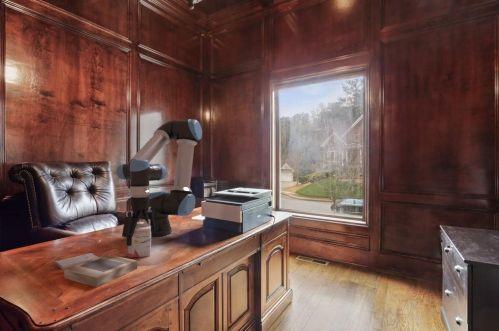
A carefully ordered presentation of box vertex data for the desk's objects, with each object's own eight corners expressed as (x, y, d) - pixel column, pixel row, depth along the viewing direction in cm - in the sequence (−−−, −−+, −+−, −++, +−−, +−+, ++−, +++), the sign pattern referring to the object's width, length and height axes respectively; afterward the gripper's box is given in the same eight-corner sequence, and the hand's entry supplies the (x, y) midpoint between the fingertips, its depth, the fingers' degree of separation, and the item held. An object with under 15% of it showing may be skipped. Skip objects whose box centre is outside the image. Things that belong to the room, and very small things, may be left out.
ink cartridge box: (127, 258, 108) (127, 222, 108) (129, 254, 113) (129, 219, 112) (150, 256, 111) (150, 221, 110) (150, 252, 115) (150, 218, 115)
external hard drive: (55, 265, 102) (90, 256, 112) (62, 270, 97) (98, 260, 106) (55, 260, 102) (90, 252, 112) (62, 266, 97) (98, 256, 106)
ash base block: (106, 262, 104) (106, 254, 104) (137, 268, 98) (137, 260, 98) (64, 278, 89) (64, 269, 89) (97, 287, 83) (97, 277, 83)
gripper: (125, 199, 100) (125, 259, 100) (164, 193, 120) (164, 243, 120) (111, 198, 103) (111, 256, 103) (151, 193, 123) (151, 241, 123)
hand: (139, 249), depth 112 cm, fingers closed on ink cartridge box, 9 cm apart
